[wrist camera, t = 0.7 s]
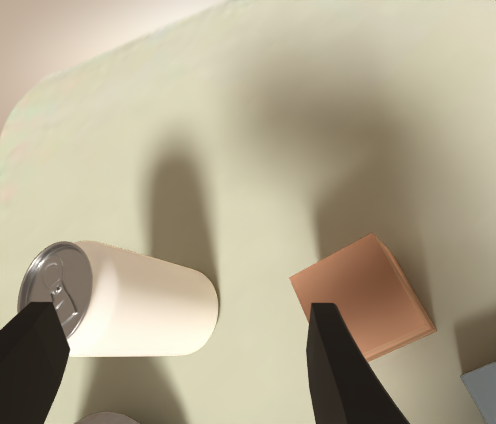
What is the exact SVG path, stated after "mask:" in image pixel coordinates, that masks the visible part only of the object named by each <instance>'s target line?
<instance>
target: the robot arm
mask: <svg viewBox="0 0 496 424" xmlns="http://www.w3.org/2000/svg"><path fill="white" fill-rule="evenodd" d="M69 353H70V347H69V344H68V341H67V339H66V336H65V334H64V331H63V328H62V326H61V323H60V320H59V318H58V315H57V312H56V310H55V307H54V304H53V302H30V303H29V304H28V305H27V306H26V307H25V308H23V309H22V310H21V311H20V312H19V313H18V314H17V315H16V316H15V317H14V318H13V319H12V320H11V321H10V322H9V323H7V324H6V325H5V326H4V327H3V328H2V329H1V330H0V424H44V422H45V420H46V417H47V415H48V413H49V410H50V408H51V406H52V403H53V401H54V399H55V396H56V394H57V391H58V389H59V387H60V384H61V381H62V377H63V374H64V371H65V367H66V364H67V360H68V356H69ZM306 354H307V367H308V379H309V388H310V394H311V399H312V405H313V410H314V416H315V421H316V424H410V423H409V422H408V420H407V419H406V418H405V416H404V415H403V414H402V412H401V411H400V410H399V408H398V407H397V406H396V404H395V403H394V401H393V400H392V399H391V397H390V396H389V394H388V393H387V391H386V390H385V389H384V387H383V386H382V384H381V383H380V381H379V380H378V378H377V377H376V375H375V373H374V372H373V370H372V369H371V367H370V365H369V364H368V362H367V361H366V359H365V357H364V356H363V354H362V353H361V351H360V349H359V347H358V346H357V344H356V342H355V340H354V339H353V337H352V335H351V333H350V331H349V329H348V328H347V326H346V324H345V322H344V320H343V318H342V316H341V314H340V311H339V309H338V307H337V305H336V304H334V303H311V311H310V320H309V329H308V339H307V348H306Z"/></svg>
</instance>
